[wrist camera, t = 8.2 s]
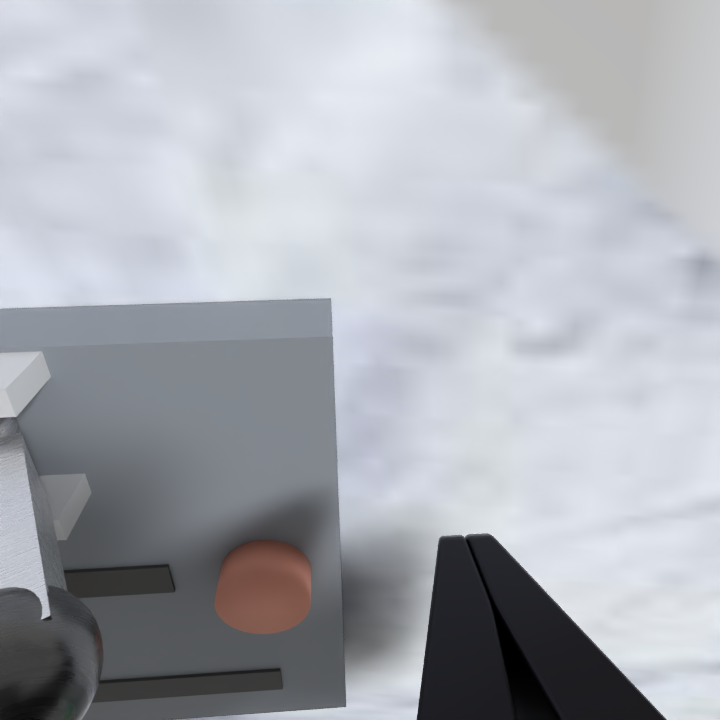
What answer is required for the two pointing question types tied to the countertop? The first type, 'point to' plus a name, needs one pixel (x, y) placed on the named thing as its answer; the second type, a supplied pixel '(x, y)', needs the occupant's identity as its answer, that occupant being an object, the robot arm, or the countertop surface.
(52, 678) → the toggle lever
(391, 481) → the countertop surface
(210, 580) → the panel
